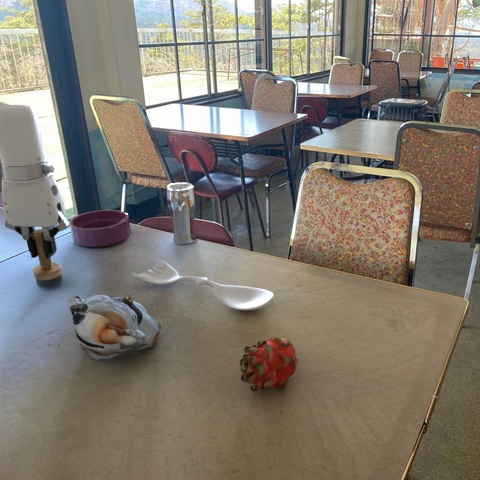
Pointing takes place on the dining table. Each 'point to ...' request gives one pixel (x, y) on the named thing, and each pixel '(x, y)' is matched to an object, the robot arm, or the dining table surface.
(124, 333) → the lucky cat figurine
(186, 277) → the spoon
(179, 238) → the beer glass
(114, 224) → the bowl
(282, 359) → the dragon fruit
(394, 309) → the dining table surface
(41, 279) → the dish brush
